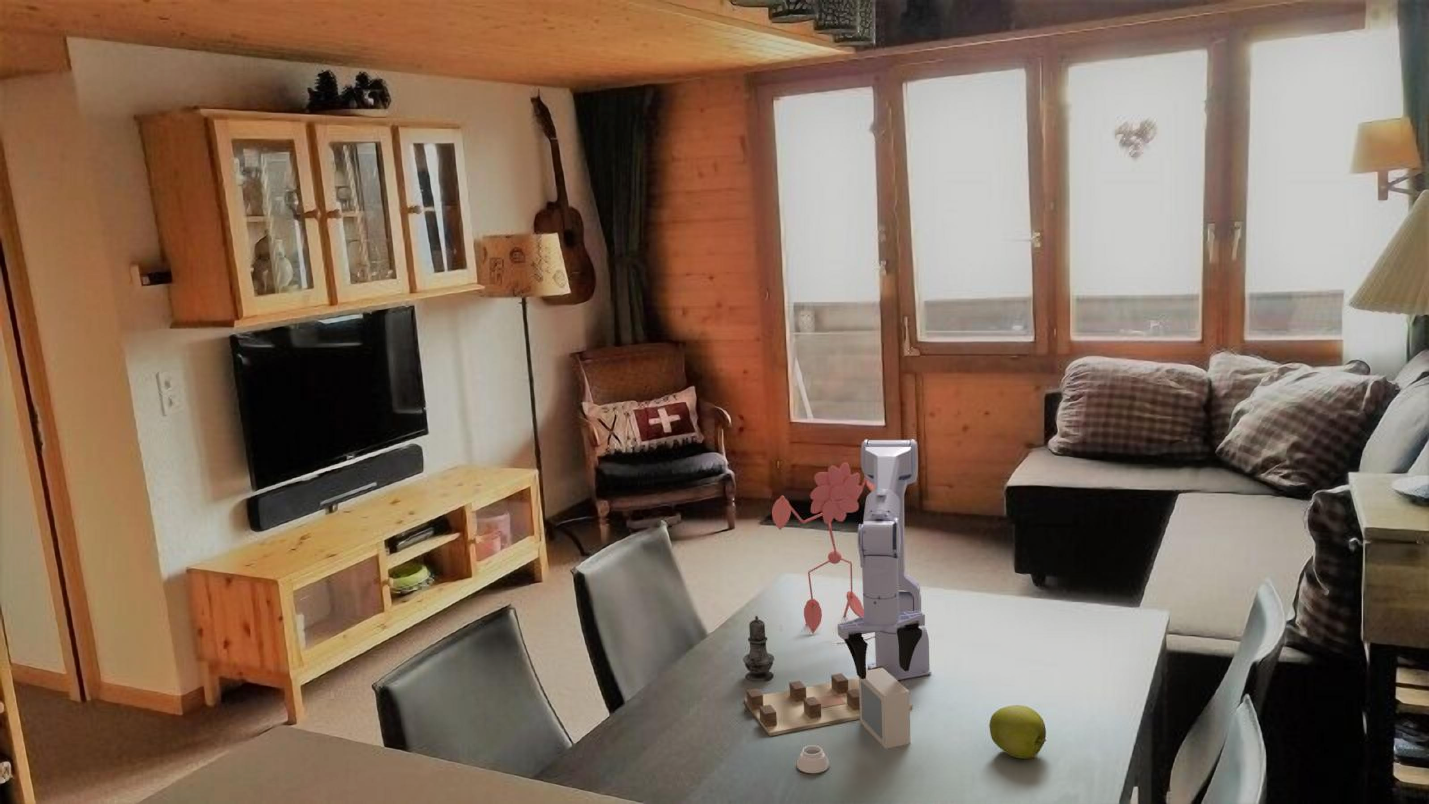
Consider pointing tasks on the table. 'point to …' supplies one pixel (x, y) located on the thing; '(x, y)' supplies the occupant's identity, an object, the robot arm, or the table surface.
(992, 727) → the apple
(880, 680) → the tall beige pillar block
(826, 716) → the notch rack
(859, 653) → the robot arm
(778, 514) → the pink flower cutout
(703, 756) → the table surface
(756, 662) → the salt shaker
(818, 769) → the lidless jar
